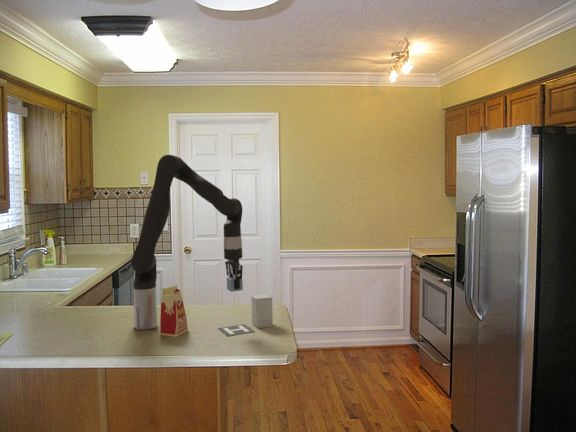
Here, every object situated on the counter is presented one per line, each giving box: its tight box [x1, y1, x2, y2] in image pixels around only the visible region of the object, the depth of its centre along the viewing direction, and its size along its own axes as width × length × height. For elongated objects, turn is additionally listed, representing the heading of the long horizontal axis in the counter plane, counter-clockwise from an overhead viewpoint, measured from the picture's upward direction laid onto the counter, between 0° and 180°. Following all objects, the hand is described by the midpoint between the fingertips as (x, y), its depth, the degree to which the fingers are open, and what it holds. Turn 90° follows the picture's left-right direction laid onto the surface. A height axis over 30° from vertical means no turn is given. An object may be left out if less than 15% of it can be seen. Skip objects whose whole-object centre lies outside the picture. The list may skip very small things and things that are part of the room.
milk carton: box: [159, 285, 189, 338], centre depth 214 cm, size 9×9×20 cm
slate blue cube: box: [226, 276, 244, 292], centre depth 216 cm, size 5×5×5 cm
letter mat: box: [217, 323, 256, 337], centre depth 217 cm, size 12×12×1 cm
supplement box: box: [250, 293, 274, 329], centre depth 223 cm, size 7×7×13 cm
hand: (234, 287), depth 216 cm, fingers closed on slate blue cube, 5 cm apart
